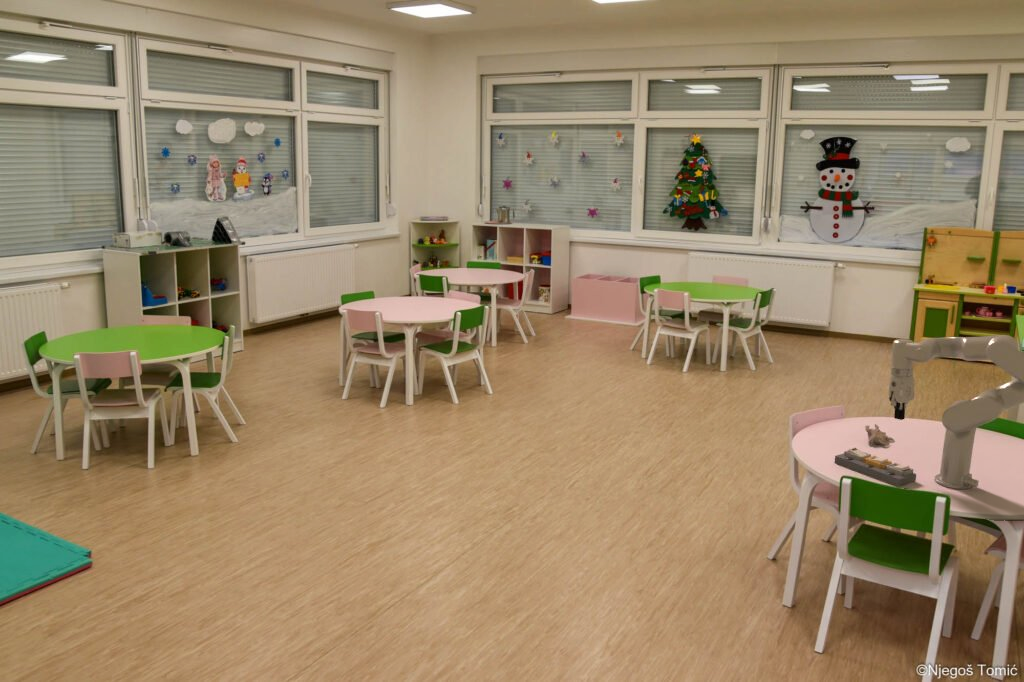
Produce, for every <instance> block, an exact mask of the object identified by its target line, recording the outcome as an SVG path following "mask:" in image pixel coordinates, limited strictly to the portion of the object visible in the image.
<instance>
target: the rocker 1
mask: <svg viewBox="0 0 1024 682" xmlns="http://www.w3.org/2000/svg"><path fill="white" fill-rule="evenodd" d="M848 450H849V452H850V453H852V454H855V455H858V456H865V455H867V454H865V453H866V452H865V453H864V451H862V450H861V449H859V448H857V447H851V448H848Z"/></svg>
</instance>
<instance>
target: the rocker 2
mask: <svg viewBox="0 0 1024 682" xmlns="http://www.w3.org/2000/svg"><path fill="white" fill-rule="evenodd" d="M890 467H892V468H894V469H897V470H902V471H903V470H907V469H910V468H911V467H910V465H904V464H903V465H902V464H899V465H893V466H890Z"/></svg>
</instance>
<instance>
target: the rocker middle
mask: <svg viewBox="0 0 1024 682" xmlns="http://www.w3.org/2000/svg"><path fill="white" fill-rule="evenodd" d="M869 460H872V461H875V462H877V463H885V462H888V461H889V459H888V458H884V457H879V456H877V457H873V458H869Z"/></svg>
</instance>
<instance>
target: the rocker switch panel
mask: <svg viewBox="0 0 1024 682" xmlns="http://www.w3.org/2000/svg"><path fill="white" fill-rule="evenodd" d="M863 452H864V451H863ZM864 453H865V454H867V455H865V456H858V455H855V454H852V453H850V452H849V449H848V450H845V451H844V452H843V453H841V454H837V455H834V464H837V465H839V466H842V467H844V468H847V469H849V470H852V471H855V472H858V473H860V474H863V475H866V476H868V477H871V478H874V479H876V480H879V481H882V482H884V483H887V484H889V485H893V486H895V487H898V486H899V487H898V488H900V487H903V486H906V485H909V484H912V483H915V482H916V480H917V474H916V473H915V472H914V469H913V468H911V467H909V468H910V469H907V470H903V471H902V470H897V469H894V468H892V467H890V466H893V465H900V463H897V462H894V463H893V462H892V461H891V460H888V462H885V463H877V462H875V461H872V460H869V458H873V457H878V456H876V455H872V454H871V453H867V452H864Z"/></svg>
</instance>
